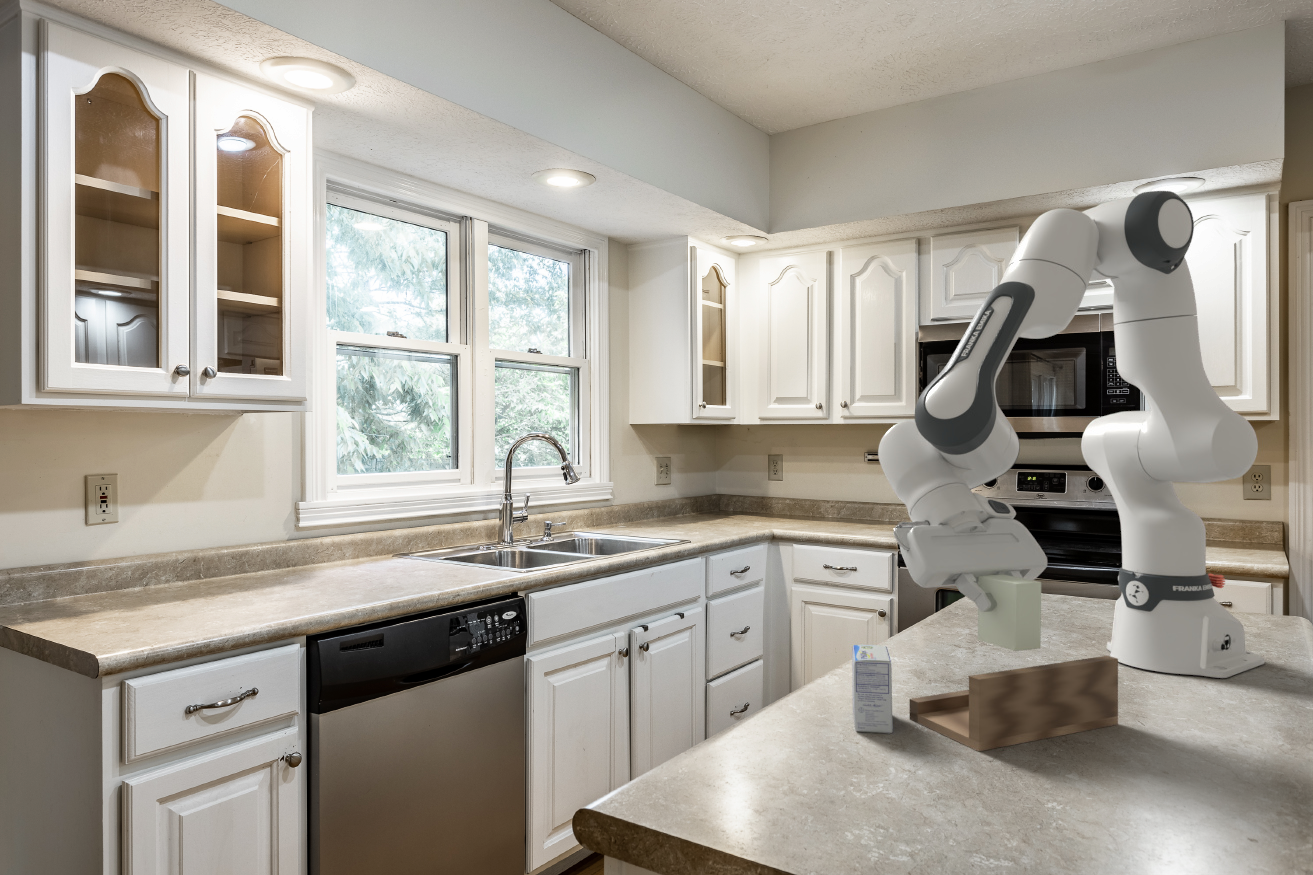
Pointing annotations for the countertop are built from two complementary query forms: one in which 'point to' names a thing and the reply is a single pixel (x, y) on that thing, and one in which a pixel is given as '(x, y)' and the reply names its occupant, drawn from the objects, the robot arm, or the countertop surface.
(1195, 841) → the countertop surface
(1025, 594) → the sage cabinet block
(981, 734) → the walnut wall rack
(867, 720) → the medicine box
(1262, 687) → the countertop surface
